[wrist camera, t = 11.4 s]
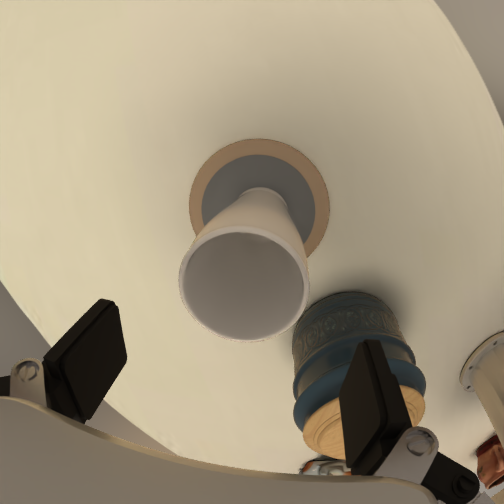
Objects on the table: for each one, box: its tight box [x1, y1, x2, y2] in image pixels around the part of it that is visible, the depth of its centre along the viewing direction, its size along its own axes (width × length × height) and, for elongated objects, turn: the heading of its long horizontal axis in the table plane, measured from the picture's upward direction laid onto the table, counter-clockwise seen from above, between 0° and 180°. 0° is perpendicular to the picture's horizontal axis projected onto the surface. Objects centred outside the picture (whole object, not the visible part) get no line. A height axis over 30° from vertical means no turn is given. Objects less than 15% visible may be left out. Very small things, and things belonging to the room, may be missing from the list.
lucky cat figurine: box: [299, 460, 361, 476], centre depth 41 cm, size 15×12×14 cm
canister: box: [292, 292, 426, 460], centre depth 26 cm, size 13×13×18 cm
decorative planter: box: [476, 435, 504, 489], centre depth 39 cm, size 20×12×14 cm, turn 43°
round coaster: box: [189, 139, 330, 257], centre depth 29 cm, size 14×14×1 cm
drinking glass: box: [178, 187, 310, 342], centre depth 22 cm, size 7×7×15 cm
